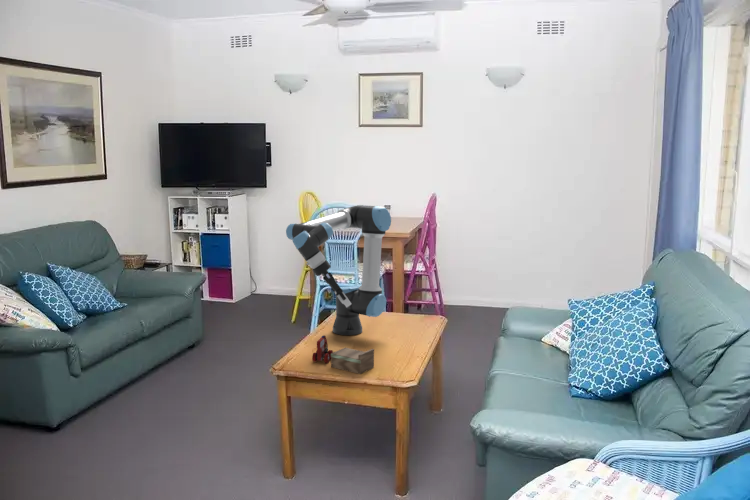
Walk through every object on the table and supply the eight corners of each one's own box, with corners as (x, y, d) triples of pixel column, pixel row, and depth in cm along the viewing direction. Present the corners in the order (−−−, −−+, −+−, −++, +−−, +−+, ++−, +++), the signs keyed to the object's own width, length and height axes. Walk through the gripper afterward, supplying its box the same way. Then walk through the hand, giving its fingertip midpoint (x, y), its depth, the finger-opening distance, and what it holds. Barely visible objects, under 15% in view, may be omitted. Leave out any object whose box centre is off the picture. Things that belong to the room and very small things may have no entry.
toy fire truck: (334, 356, 277) (334, 334, 275) (326, 365, 265) (326, 341, 263) (319, 355, 278) (319, 332, 277) (310, 364, 266) (310, 340, 265)
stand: (330, 367, 263) (330, 348, 261) (345, 360, 271) (345, 343, 270) (359, 374, 254) (360, 355, 253) (374, 367, 263) (374, 349, 262)
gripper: (309, 267, 279) (336, 305, 281) (313, 271, 254) (343, 312, 257) (323, 258, 280) (350, 296, 282) (328, 260, 255) (358, 301, 258)
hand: (347, 304), depth 270 cm, fingers open, 13 cm apart
